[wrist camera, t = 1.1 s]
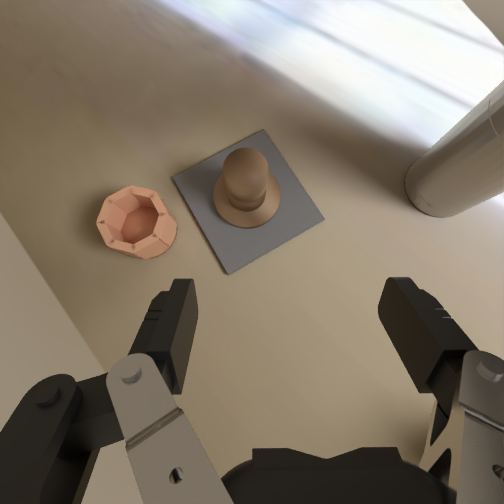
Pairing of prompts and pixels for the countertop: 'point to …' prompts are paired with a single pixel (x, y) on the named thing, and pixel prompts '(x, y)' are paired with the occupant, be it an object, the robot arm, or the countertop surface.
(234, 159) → the walnut lid
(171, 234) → the terracotta bowl
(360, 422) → the countertop surface
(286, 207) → the rubber mat
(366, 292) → the countertop surface
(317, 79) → the countertop surface
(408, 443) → the countertop surface
